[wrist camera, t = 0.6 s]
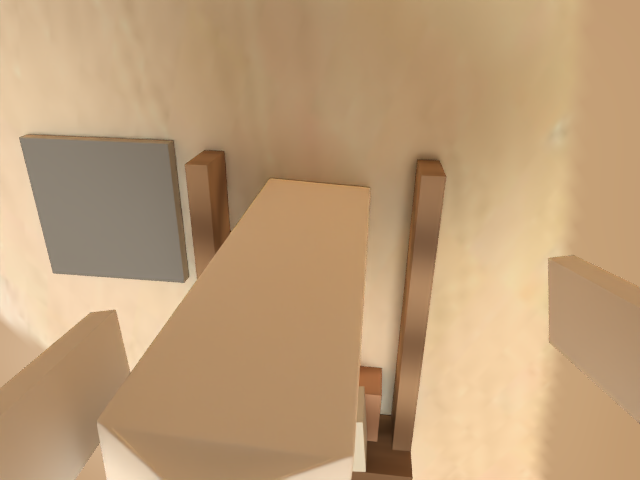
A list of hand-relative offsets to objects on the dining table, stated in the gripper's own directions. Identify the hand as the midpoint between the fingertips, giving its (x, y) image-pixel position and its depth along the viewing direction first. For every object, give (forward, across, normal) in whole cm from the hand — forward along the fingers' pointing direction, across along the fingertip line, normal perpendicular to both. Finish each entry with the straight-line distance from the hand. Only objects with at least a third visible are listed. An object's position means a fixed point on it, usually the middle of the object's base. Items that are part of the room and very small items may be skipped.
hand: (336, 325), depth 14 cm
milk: (+15, 0, 0) cm, 15 cm away
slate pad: (+16, -13, +2) cm, 21 cm away
